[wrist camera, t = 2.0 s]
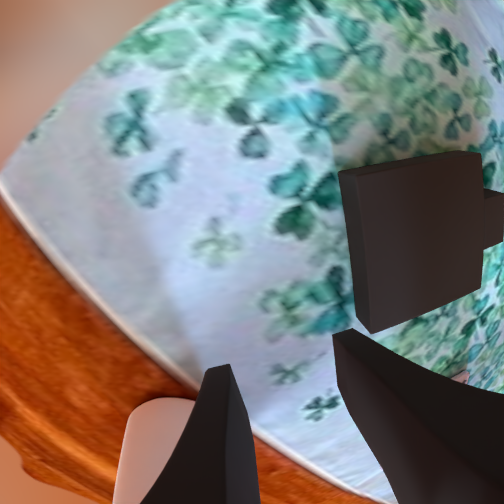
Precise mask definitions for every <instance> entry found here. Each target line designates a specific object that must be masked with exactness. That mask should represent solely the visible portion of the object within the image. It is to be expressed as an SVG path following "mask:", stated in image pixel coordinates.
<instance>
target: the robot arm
mask: <svg viewBox="0 0 504 504" xmlns="http://www.w3.org/2000/svg"><path fill="white" fill-rule="evenodd" d="M332 338H333V347H334V356H335V365H336V375H337V386H338V388H339V391H340V393H341V395H342V398H343V400H344V402H345V405H346V407H347V409H348V412H349V414H350V415H351V417H352V419H353V421H354V422H355V424H356V426H357V427H358V429H359V431H360V432H361V434H362V436H363V437H364V439H365V441H366V442H367V444H368V446H369V447H370V449H371V451H372V452H373V454H374V456H375V457H376V459H377V461H378V462H379V464H380V469H381V470H383V471H384V473H385V475H386V477H387V478H388V481H389V483H390V485H391V487H392V490H393V492H394V494H395V496H396V499H397V501H398V503H399V504H504V394H501V393H496V392H491V391H487V390H484V389H480V388H476V387H473V386H470V385H467V382H468V378H469V372H468V371H463V372H461V373H460V374H458V375H456V376H454V377H452V378H451V379H450V378H447V377H445V376H442V375H440V374H438V373H435V372H433V371H431V370H428V369H426V368H424V367H422V366H420V365H418V364H416V363H413V362H411V361H410V360H408V359H406V358H404V357H402V356H400V355H398V354H396V353H394V352H393V351H391V350H389V349H387V348H386V347H384V346H382V345H380V344H379V343H377V342H375V341H374V340H372V339H370V338H369V337H367V336H365V335H363V334H362V333H360V332H358V331H357V330H355V329H353V328H351V329H348V330H345V331H342V332H339V333H336V334H333V335H332ZM140 504H261V502H260V493H259V484H258V475H257V465H256V456H255V447H254V440H253V435H252V431H251V426H250V422H249V417H248V413H247V410H246V407H245V405H244V402H243V399H242V397H241V394H240V391H239V388H238V386H237V383H236V380H235V377H234V374H233V372H232V369H231V366H230V364H226V365H222V366H217V367H213V368H209V369H208V370H207V371H206V372H205V375H204V379H203V382H202V385H201V388H200V391H199V394H198V396H197V399H196V402H195V404H194V407H193V409H192V412H191V414H190V416H189V419H188V421H187V423H186V426H185V428H184V430H183V432H182V434H181V436H180V438H179V440H178V442H177V444H176V446H175V448H174V450H173V452H172V454H171V456H170V458H169V460H168V461H167V463H166V465H165V467H164V468H163V470H162V472H161V473H160V475H159V476H158V478H157V480H156V481H155V483H154V484H153V486H152V487H151V489H150V490H149V491H148V493H147V494H146V496H145V497H144V498H143V500H142V501H141V502H140Z"/></svg>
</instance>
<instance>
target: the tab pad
mask: <svg viewBox="0 0 504 504" xmlns="http://www.w3.org/2000/svg"><path fill="white" fill-rule="evenodd" d="M338 177H339V183H340V188H341V195H342V201H343V207H344V214H345V221H346V228H347V235H348V243H349V251H350V259H351V268H352V277H353V287H354V297H355V309H356V317H357V318H358V320H359V321H360V322H361V323H362V324H363V326H364V327H365V328H366V329H367V330H368V332H369V333H370V334H374V333H377V332H380V331H382V330H385V329H387V328H390V327H393V326H395V325H398V324H400V323H403V322H405V321H408V320H410V319H413V318H415V317H418V316H420V315H422V314H425V313H427V312H430V311H432V310H434V309H437V308H439V307H441V306H443V305H446V304H448V303H450V302H452V301H454V300H457V299H459V298H461V297H463V296H465V295H467V294H469V293H472V292H474V291H476V290H478V289H480V288H481V279H482V267H483V250H484V249H487V248H489V247H492V246H494V245H496V244H499V243H501V242H503V238H504V193H501V192H497V191H493V190H490V189H486V188H484V187H483V171H482V158H481V154H480V153H476V152H467V151H451V152H445V153H438V154H432V155H426V156H419V157H413V158H408V159H402V160H396V161H391V162H385V163H380V164H374V165H369V166H364V167H359V168H354V169H349V170H344V171H339V172H338Z"/></svg>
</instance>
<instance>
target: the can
mask: <svg viewBox="0 0 504 504" xmlns="http://www.w3.org/2000/svg"><path fill="white" fill-rule="evenodd" d="M195 402H196V401H194V400H190V399H186V398H179V397H161V398H156V399H153V400H151V401H148V402H145V403H143V404H142V405H140V406H138V407H137V408H136V409H134V410H133V411H132V413H131V414H130V416H129V419H128V422H127V426H126V431H125V435H124V440H123V445H122V450H121V456H120V461H119V466H118V472H117V478H116V484H115V490H114V497H113V503H112V504H140V502H141V501H142V500H143V498H144V497H145V496H146V494H147V493H148V491H149V490H150V489H151V487H152V486H153V484H154V483H155V481H156V480H157V478H158V476H159V475H160V473H161V472H162V470H163V468H164V467H165V465H166V463H167V461H168V460H169V458H170V456H171V454H172V452H173V450H174V448H175V446H176V444H177V442H178V440H179V438H180V436H181V434H182V432H183V430H184V428H185V426H186V423H187V421H188V419H189V416H190V414H191V412H192V409H193V407H194V404H195Z"/></svg>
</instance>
